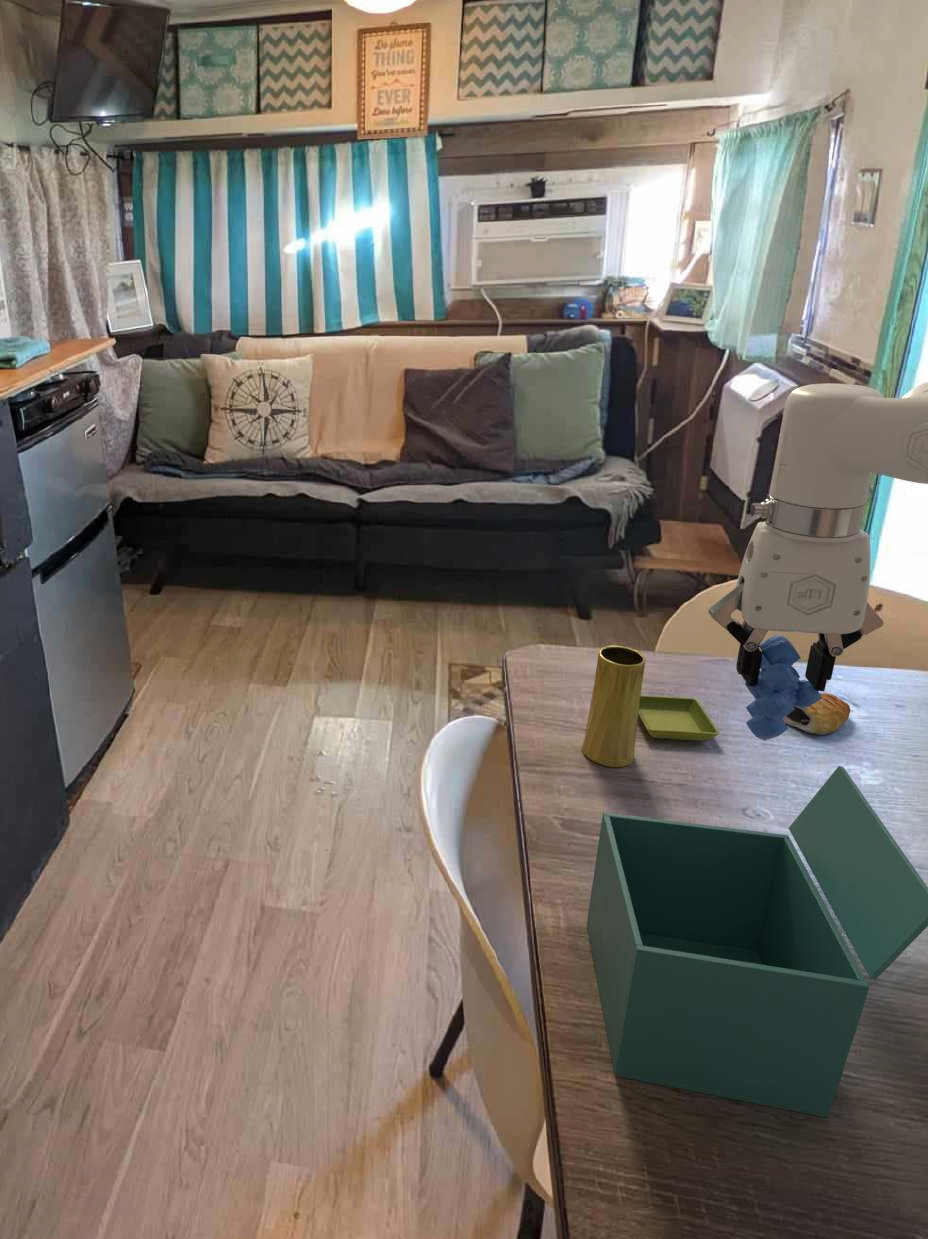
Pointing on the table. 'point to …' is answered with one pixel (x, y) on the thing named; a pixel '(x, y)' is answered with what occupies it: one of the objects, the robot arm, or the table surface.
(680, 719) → the olive green shallow tray
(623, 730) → the vase
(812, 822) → the flap
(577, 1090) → the table surface
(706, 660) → the table surface
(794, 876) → the carton
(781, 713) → the grapes
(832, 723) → the pastry
